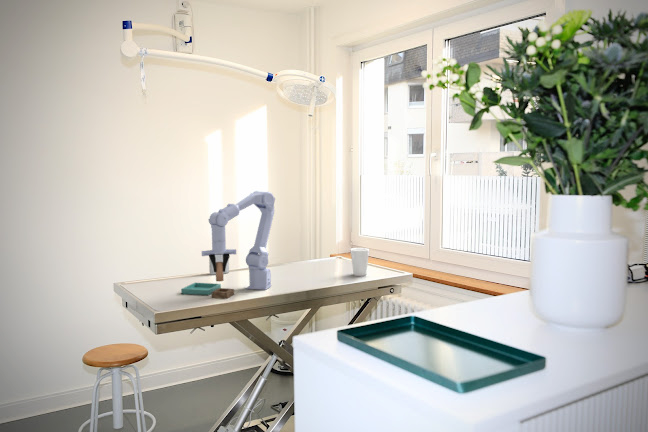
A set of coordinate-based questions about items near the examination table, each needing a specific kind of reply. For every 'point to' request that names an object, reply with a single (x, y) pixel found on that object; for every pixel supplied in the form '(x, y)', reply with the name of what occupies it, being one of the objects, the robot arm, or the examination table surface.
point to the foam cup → (359, 260)
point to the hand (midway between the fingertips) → (219, 271)
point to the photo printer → (218, 259)
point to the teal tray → (200, 288)
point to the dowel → (219, 271)
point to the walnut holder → (222, 293)
